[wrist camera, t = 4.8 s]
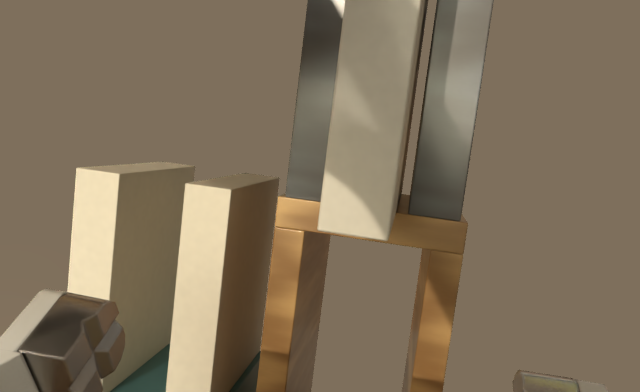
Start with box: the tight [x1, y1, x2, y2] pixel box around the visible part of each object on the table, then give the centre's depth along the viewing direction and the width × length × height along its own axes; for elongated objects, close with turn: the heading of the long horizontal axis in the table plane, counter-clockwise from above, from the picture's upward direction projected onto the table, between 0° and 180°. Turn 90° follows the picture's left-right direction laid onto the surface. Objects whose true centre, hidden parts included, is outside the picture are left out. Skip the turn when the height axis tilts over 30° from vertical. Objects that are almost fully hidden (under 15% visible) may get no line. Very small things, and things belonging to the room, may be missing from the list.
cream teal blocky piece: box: [68, 162, 279, 392], centre depth 35 cm, size 9×10×26 cm
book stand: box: [256, 0, 494, 392], centre depth 32 cm, size 9×10×39 cm
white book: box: [317, 0, 428, 241], centre depth 27 cm, size 2×19×13 cm, turn 171°
